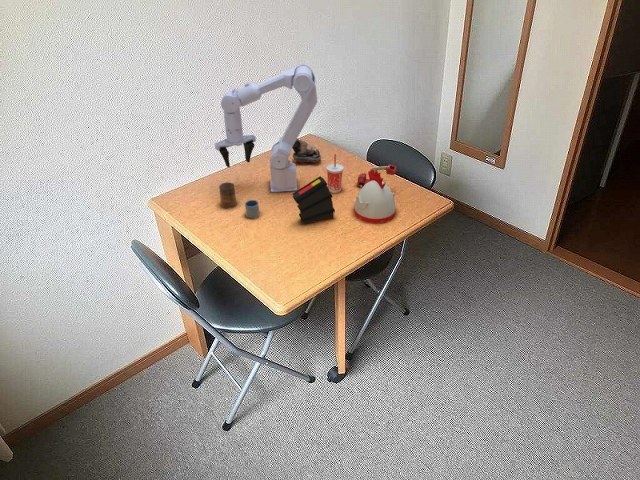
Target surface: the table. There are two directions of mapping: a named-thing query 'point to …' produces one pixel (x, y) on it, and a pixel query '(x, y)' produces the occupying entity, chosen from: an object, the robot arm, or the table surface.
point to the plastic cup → (252, 209)
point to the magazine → (314, 201)
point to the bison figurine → (305, 152)
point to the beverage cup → (334, 176)
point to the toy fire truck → (389, 170)
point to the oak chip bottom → (228, 204)
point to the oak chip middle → (228, 198)
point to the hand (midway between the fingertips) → (237, 163)
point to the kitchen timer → (375, 201)
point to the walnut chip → (227, 189)
